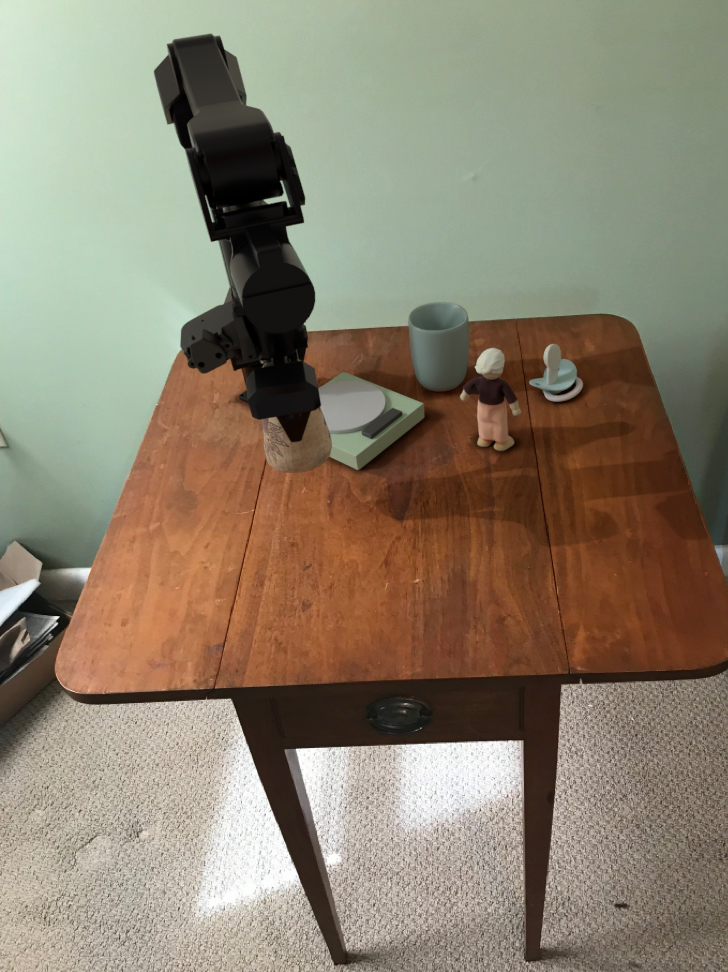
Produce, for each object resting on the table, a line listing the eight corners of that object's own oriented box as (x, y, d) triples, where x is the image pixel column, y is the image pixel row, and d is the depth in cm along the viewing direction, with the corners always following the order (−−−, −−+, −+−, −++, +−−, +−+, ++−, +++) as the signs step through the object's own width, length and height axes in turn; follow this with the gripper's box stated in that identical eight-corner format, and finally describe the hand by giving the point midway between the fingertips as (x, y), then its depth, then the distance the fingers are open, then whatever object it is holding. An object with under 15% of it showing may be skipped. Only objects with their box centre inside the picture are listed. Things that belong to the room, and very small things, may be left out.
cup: (471, 397, 102) (469, 329, 95) (412, 401, 102) (407, 333, 95) (468, 366, 107) (467, 299, 100) (413, 369, 108) (408, 303, 101)
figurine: (300, 426, 86) (280, 329, 78) (346, 448, 83) (331, 349, 74) (253, 458, 82) (227, 361, 74) (299, 483, 79) (277, 383, 70)
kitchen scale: (278, 432, 99) (273, 414, 98) (345, 385, 106) (342, 367, 104) (358, 470, 93) (355, 452, 91) (424, 417, 99) (423, 399, 97)
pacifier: (592, 385, 102) (553, 370, 105) (598, 343, 97) (557, 329, 100) (561, 411, 98) (522, 395, 101) (566, 369, 94) (525, 353, 97)
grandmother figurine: (525, 436, 95) (528, 344, 86) (518, 455, 92) (520, 362, 83) (465, 428, 97) (462, 338, 88) (456, 446, 94) (452, 355, 86)
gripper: (174, 247, 74) (214, 383, 85) (168, 347, 61) (216, 493, 72) (289, 230, 75) (314, 367, 86) (306, 325, 62) (333, 472, 73)
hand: (293, 420), depth 79 cm, fingers closed on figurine, 6 cm apart
